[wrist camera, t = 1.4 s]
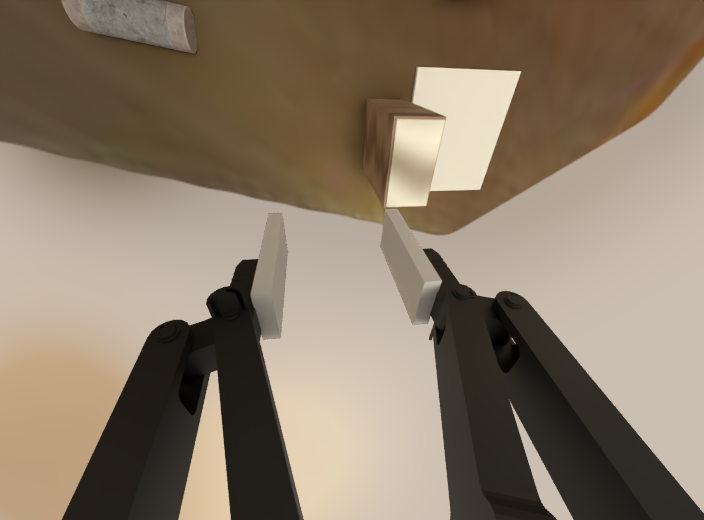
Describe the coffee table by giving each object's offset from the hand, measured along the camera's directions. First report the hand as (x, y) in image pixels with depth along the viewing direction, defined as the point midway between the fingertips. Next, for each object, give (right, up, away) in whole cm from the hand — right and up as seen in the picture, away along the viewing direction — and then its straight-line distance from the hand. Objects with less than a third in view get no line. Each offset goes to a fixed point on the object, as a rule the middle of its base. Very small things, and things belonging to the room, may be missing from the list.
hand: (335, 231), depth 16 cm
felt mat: (+16, +16, +22) cm, 32 cm away
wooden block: (+5, +16, +21) cm, 27 cm away
